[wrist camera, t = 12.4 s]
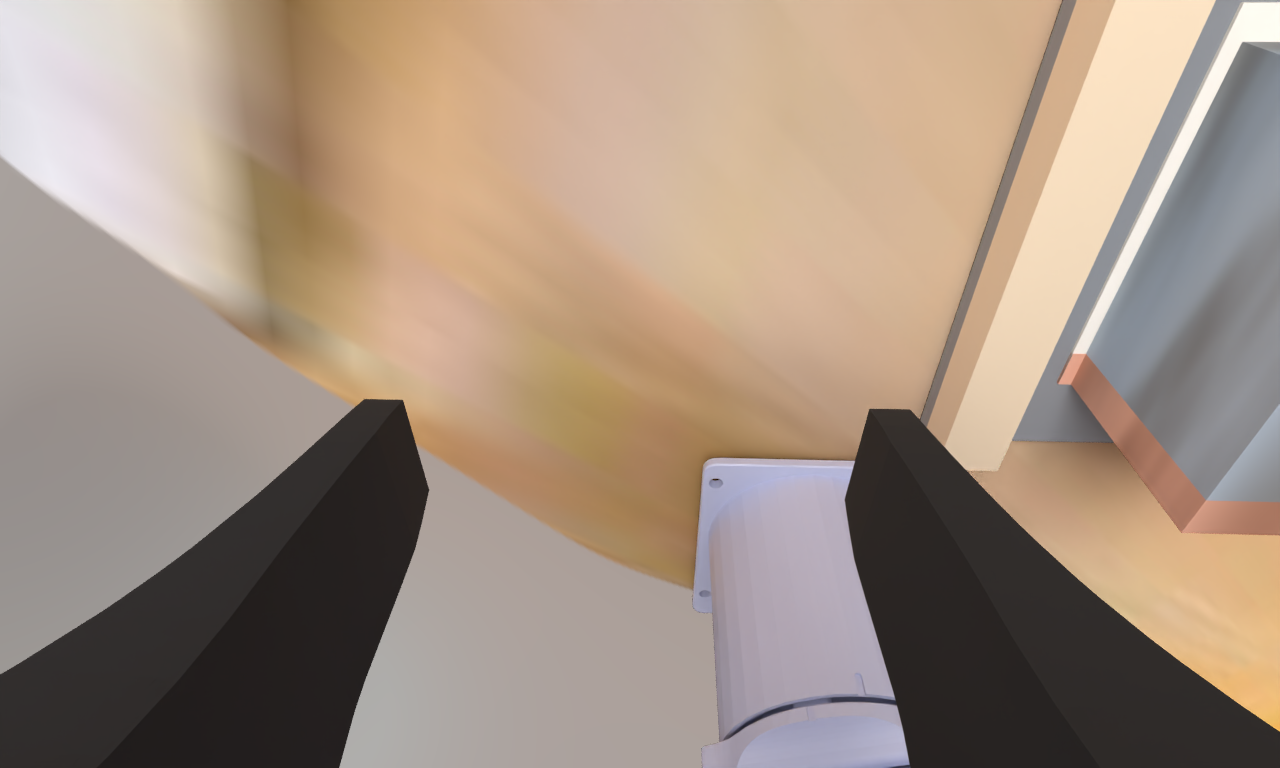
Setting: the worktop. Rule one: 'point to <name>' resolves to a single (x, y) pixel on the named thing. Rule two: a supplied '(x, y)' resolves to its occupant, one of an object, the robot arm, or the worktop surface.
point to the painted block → (1205, 322)
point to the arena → (1078, 212)
